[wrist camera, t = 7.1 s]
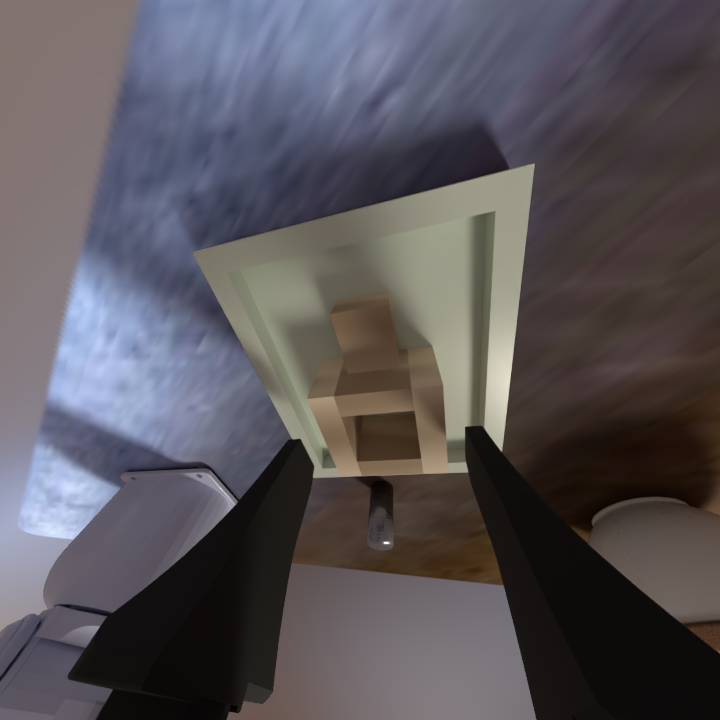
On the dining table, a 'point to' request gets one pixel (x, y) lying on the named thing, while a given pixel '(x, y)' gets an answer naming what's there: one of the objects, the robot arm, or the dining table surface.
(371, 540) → the post
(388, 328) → the wooden frame with tab
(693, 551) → the lidded jar
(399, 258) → the sage tray
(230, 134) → the dining table surface
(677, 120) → the dining table surface
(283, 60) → the dining table surface
